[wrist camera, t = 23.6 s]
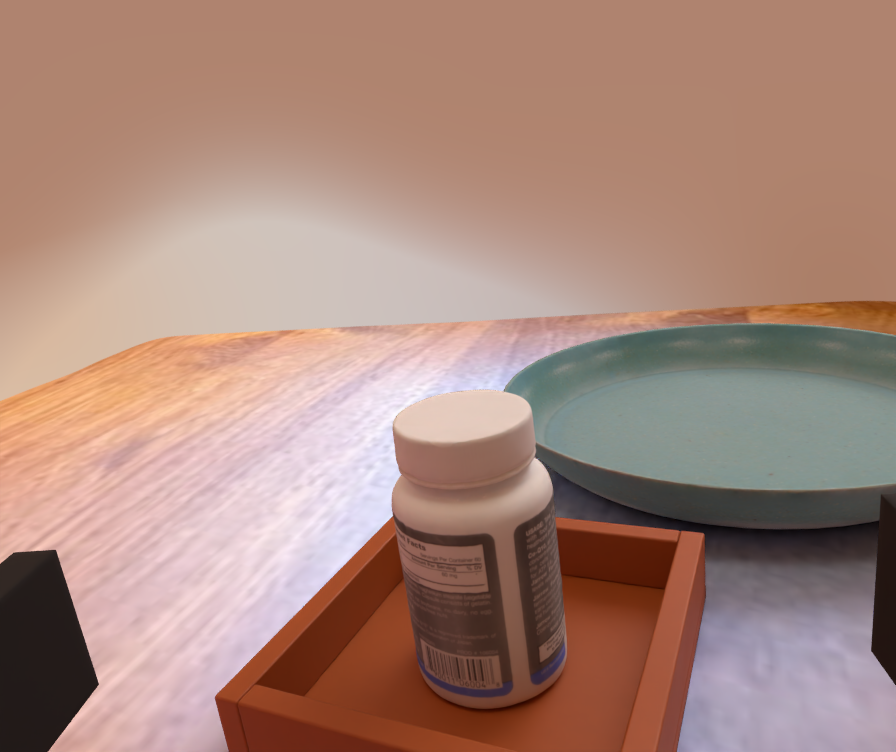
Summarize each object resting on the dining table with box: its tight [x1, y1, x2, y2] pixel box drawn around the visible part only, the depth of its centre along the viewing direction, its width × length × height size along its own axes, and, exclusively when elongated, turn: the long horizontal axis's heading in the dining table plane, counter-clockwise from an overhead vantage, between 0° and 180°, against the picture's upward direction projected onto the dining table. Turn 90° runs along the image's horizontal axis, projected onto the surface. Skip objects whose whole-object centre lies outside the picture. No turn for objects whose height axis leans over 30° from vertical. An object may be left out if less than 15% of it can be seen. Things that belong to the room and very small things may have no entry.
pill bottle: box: [392, 390, 567, 709], centre depth 22 cm, size 5×5×8 cm
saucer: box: [504, 323, 896, 530], centre depth 37 cm, size 24×24×3 cm
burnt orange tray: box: [215, 517, 706, 752], centre depth 23 cm, size 12×12×3 cm
